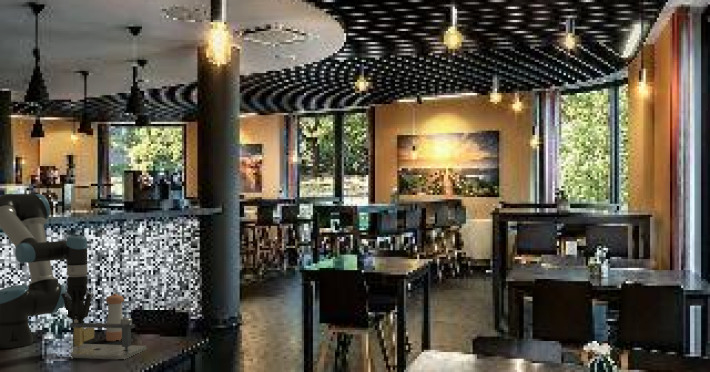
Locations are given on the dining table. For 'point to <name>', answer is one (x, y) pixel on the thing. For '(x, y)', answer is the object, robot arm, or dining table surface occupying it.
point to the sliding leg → (82, 335)
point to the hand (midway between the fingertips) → (78, 335)
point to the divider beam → (125, 325)
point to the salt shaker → (114, 317)
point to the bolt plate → (106, 351)
